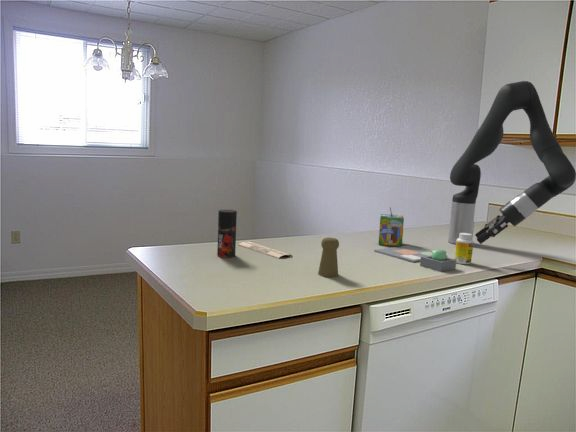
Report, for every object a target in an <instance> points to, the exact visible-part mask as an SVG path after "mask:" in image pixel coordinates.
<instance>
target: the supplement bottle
mask: <svg viewBox="0 0 576 432" xmlns="http://www.w3.org/2000/svg"><path fill="white" fill-rule="evenodd" d="M471 238H472V234H469V233H460V235H459V238H458V239H457V240H456V244H455V251H454V257H453V259H455V260H456V264H460V265H470V264H471V263H472V260H473V259H472V258H473V252H474V251H473V250H474V240H473V239H472V240H471Z"/></svg>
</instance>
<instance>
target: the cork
mask: <svg viewBox="0 0 576 432" xmlns="http://www.w3.org/2000/svg"><path fill="white" fill-rule="evenodd" d="M320 246H321V248H322V251H321V257H320V261H319V262H320V263H319V267H318V270H317V271H318V273H317V275H319V276H320V277H322V278H323V277H324V278H335V277H336V278H337V277H338V276H339V263H338V248H339V247H340V242H339V239H337V238H334V237H324V238H322V239H321V245H320Z"/></svg>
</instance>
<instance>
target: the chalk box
mask: <svg viewBox="0 0 576 432" xmlns="http://www.w3.org/2000/svg"><path fill="white" fill-rule="evenodd" d="M389 211H390V214H386V213H385V214H383V213H380V217H379V230H378V231H379V233H378V246H388V247H389V246H391V247H400V246H403V237H404V220H405V219H404V215H399V214H398V215H397V214H393V212H392V207H389Z"/></svg>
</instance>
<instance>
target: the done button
mask: <svg viewBox="0 0 576 432" xmlns="http://www.w3.org/2000/svg"><path fill="white" fill-rule="evenodd" d="M431 251H432V258H431V259H434V260H438V261H445V260H446V255H447V251H446V250H443V249H432V250H431Z"/></svg>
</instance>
